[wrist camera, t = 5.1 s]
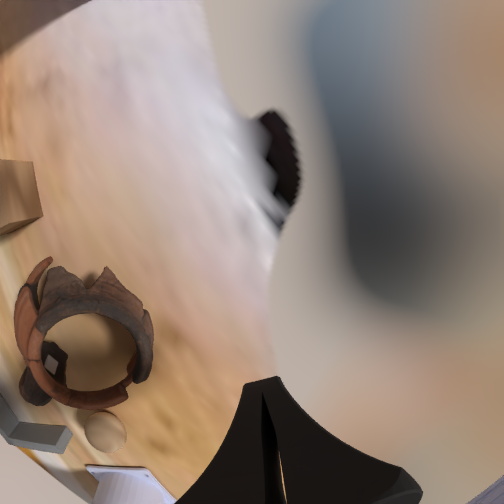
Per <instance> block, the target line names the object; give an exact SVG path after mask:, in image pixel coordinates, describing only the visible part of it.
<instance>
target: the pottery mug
mask: <svg viewBox="0 0 504 504" xmlns="http://www.w3.org/2000/svg"><path fill="white" fill-rule="evenodd" d="M52 261H53V258H52V257H51V256H50V257H48V258H46V259H44V260H43V261H41V262H40V263H39V264H38V265H37V266H36V267H35V269H34V270H33V271H32V273H31V274H30V275H29V278H28V280H27V282H26V283H25V284H24V286H22V288H21V289H20V291H19V294H18V298H17V301H16V303H15V311H14V328H15V337H16V341H17V345H18V348H19V350H20V352H21V354H22V355H23V358H24V360H25V362H26V364H27V367H26V369H25V371H24V373H23V375H22V377H21V380H20V382H19V389H20V394H21V396H22V397H23V399H24V400H25V401H26V402H29V403H32V404H33V405H35V406H43V405H45V404H47V403H48V402H50V400H51V399H52V398H54V399H55V400H57V401H58V402H60V403H62V404H64V405H68V406H70V407H74V408H78V409H87V410H98V409H102V408H108V407H112V406H115V405H117V404H120V403H122V402H124V401H125V400H127V399H128V393H127V391H126V387H127V386H128V385H129V384H131V383H132V382H134V383H135V384H138V383H141V382H143V381H145V380H147V378H148V377H149V374H150V371H151V367H152V360H153V350H152V348H153V341H154V332H153V325H152V322H151V318H150V315H149V312H148V311H147V310H145V309H143V304H142V302H141V301H140V300H139V299H138V298H137V297H136V296H135V295H134V294H132V293H131V292H130V291H129V290H127V289H126V288H125V287H124V286H123V285H122V284H121V283H120V281H119V280H118V279H117V278H116V276H115V275H114V273H113V272H112V271H111V270H110V269H109V268H108V267H107V266H106V267H105V268H104V271H103V273H102V274H101V276H100V277H99V278H98V279H97V281H96V282H95V283H94V284H93V285H92V287H91V288H89V289H86V288H85V286H84V284H83V282H82V280H81V279H79V278H78V277H77V276H76V275H74V274H72V273H69V272H67V271H66V270H65V268H64V267H62V266H58V267H54V268H51V269H49V270H48V272H47V283H46V285H45V287H44V290H43V295H42V301H41V305H39V301H38V295H37V287H38V282H39V280H40V278H41V276H42V274H43V272H44V270H45V269H46V268H47V267H48V266H49V265H50V264H51V263H52ZM85 313H89V314H90V313H96V314H99V315H103V316H106V317H108V318H111V319H113V320H115V321H117V322H119V323H120V324H122V325H123V326H125V327H126V329H127V330H128V331H129V332H130V333H131V335H132V336H133V338H134V340H135V343H136V347H137V352H135V353H134V355H133V357H132V358H131V360H130V362H129V363H128V365H127V372H128V376H127V377H126V378H125V379H124V380H122V381H120V382H119V383H117V384H116V385H114V386H112V387H109V388H106V389H102V390H99V391H91V392H86V391H76V390H72V389H69V388H68V387H67V385H66V375H65V371H66V362H67V359H68V355H67V354H66V353H65V352H64V351H63V350H61V349H60V348H59V347H58V345H57V344H56V343H54V342H45V341H43V340H44V338H45V336H46V334H47V331H48V330H49V329H50V328H51V327H52V326H54V325H55V324H56V323H57V322H59V321H60V320H62V319H64V318H67V317H70V316H73V315H77V314H85Z"/></svg>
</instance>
